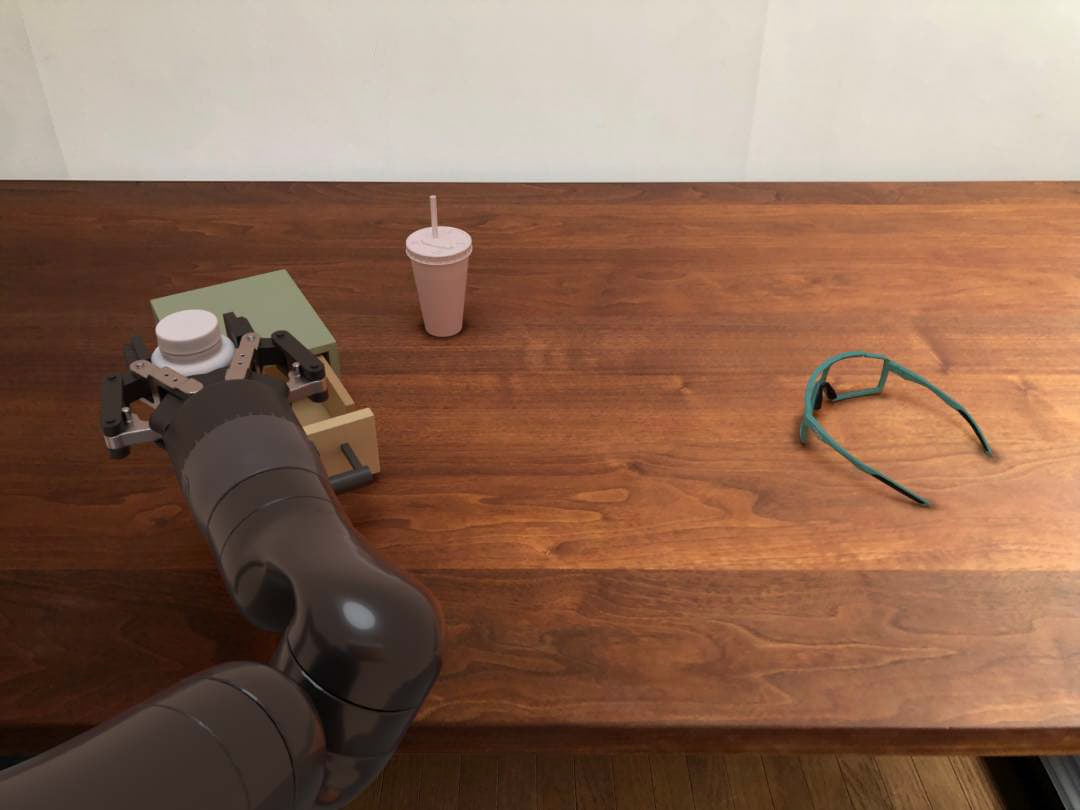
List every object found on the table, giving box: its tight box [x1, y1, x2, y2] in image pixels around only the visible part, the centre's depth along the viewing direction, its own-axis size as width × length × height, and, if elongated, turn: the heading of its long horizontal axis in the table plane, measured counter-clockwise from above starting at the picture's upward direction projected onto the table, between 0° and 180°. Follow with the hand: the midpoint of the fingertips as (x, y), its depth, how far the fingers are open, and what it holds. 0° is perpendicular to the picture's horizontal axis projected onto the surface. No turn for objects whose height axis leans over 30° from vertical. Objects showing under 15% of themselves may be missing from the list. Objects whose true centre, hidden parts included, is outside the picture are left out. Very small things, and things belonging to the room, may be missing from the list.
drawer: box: [264, 353, 381, 497], centre depth 85 cm, size 18×11×6 cm, turn 28°
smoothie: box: [405, 194, 473, 338], centre depth 102 cm, size 6×6×14 cm
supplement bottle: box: [150, 310, 236, 377], centre depth 71 cm, size 6×6×10 cm
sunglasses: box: [799, 350, 994, 507], centre depth 90 cm, size 14×15×5 cm
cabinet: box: [149, 268, 343, 384], centre depth 95 cm, size 15×13×8 cm
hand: (185, 335), depth 72 cm, fingers closed on supplement bottle, 5 cm apart
